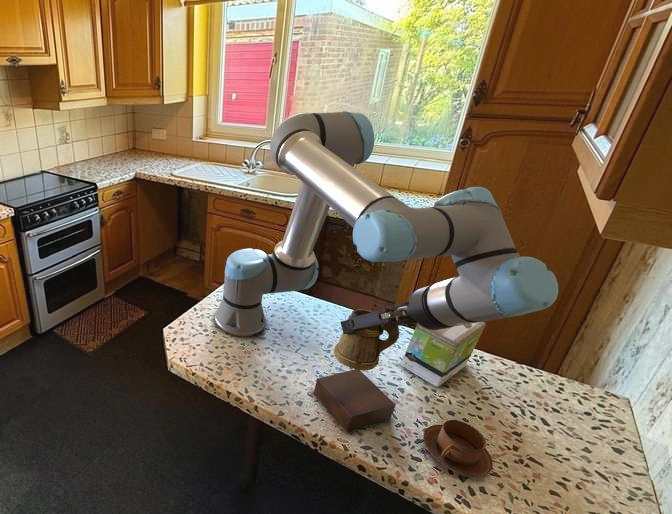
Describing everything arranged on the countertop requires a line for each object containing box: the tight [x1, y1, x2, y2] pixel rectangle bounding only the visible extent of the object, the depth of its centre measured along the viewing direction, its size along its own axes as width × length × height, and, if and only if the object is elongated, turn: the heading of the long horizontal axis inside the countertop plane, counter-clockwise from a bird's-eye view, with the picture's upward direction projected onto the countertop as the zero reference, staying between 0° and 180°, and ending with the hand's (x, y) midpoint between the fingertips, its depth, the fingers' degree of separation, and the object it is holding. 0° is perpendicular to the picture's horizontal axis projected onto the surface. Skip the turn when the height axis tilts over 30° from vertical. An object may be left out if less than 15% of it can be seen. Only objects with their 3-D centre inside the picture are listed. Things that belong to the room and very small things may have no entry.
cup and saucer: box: [423, 419, 494, 478], centre depth 82 cm, size 12×12×6 cm
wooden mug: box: [333, 308, 400, 371], centre depth 85 cm, size 9×14×18 cm, turn 46°
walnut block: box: [313, 369, 397, 433], centre depth 94 cm, size 12×12×5 cm
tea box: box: [400, 321, 486, 388], centre depth 104 cm, size 15×10×15 cm, turn 123°
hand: (362, 325), depth 88 cm, fingers closed on wooden mug, 9 cm apart
